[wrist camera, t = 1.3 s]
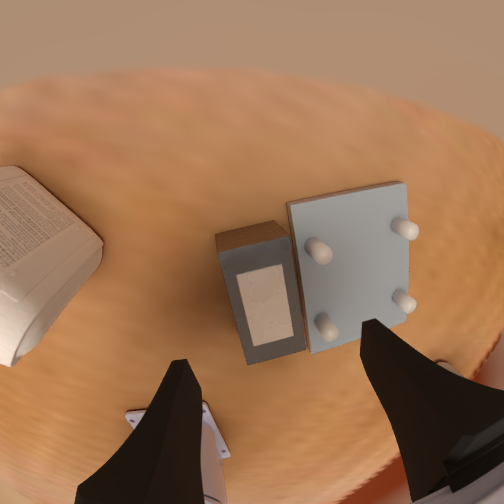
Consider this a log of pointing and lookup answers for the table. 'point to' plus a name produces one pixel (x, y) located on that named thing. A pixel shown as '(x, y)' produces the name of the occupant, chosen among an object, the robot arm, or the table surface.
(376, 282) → the grey mounting plate
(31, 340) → the photo printer
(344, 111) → the table surface
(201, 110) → the table surface
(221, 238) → the block
